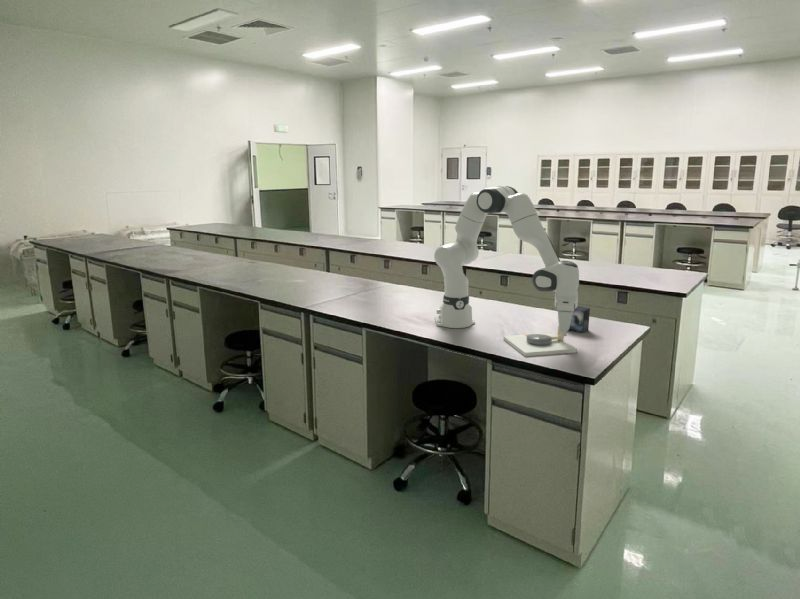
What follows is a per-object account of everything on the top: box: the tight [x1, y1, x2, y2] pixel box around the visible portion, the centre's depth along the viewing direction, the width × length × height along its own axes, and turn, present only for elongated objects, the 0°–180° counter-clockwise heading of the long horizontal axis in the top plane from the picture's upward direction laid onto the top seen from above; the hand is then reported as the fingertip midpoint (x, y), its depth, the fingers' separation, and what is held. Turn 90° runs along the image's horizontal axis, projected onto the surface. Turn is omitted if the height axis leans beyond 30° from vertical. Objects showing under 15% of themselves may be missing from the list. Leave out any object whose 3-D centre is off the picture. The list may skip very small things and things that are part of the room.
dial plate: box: [502, 332, 578, 357], centre depth 214 cm, size 22×22×2 cm
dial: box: [526, 325, 565, 345], centre depth 213 cm, size 16×10×6 cm, turn 101°
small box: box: [568, 305, 591, 334], centre depth 235 cm, size 11×6×10 cm, turn 45°
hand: (564, 335), depth 209 cm, fingers closed
